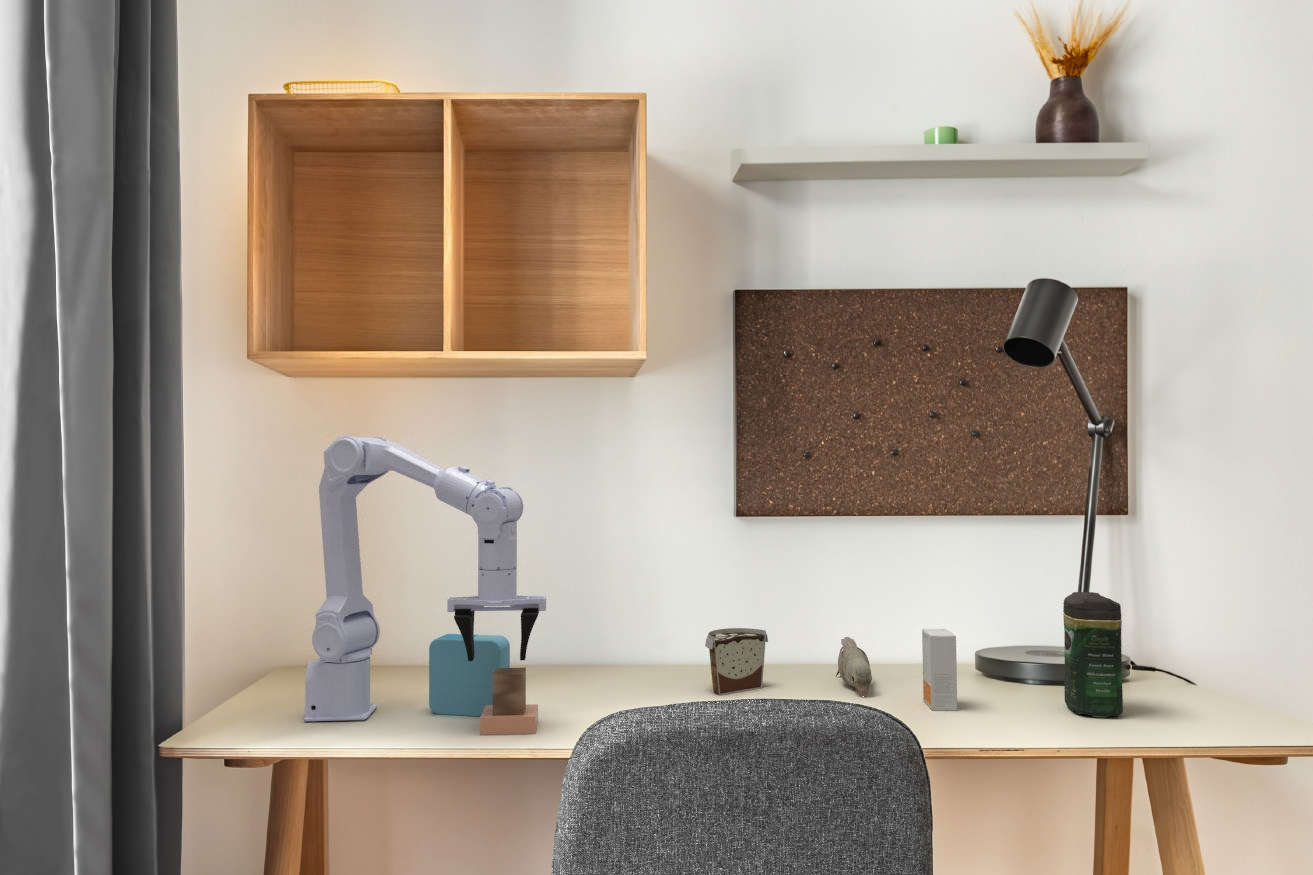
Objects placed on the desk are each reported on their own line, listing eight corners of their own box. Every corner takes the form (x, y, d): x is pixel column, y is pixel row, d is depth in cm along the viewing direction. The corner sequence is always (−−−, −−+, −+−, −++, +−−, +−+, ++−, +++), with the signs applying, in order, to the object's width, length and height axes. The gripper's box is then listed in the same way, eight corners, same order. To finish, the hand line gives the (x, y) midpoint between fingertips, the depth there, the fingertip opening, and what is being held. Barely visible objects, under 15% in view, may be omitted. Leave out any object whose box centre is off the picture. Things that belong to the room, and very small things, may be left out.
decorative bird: (848, 699, 156) (847, 654, 156) (832, 677, 172) (832, 636, 172) (880, 699, 156) (879, 653, 156) (861, 677, 172) (861, 636, 172)
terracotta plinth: (480, 734, 135) (480, 717, 136) (485, 721, 142) (485, 705, 142) (535, 733, 136) (535, 716, 136) (538, 720, 143) (538, 704, 143)
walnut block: (492, 715, 137) (492, 674, 137) (495, 707, 141) (495, 667, 141) (523, 714, 137) (523, 673, 137) (525, 706, 141) (525, 667, 142)
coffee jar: (1130, 720, 141) (1127, 597, 142) (1074, 717, 143) (1072, 596, 143) (1111, 704, 151) (1109, 589, 151) (1059, 701, 152) (1057, 588, 153)
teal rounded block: (510, 710, 149) (510, 635, 150) (500, 717, 145) (500, 640, 145) (440, 706, 152) (440, 633, 152) (428, 714, 147) (428, 638, 147)
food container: (747, 680, 169) (746, 625, 169) (768, 687, 164) (768, 630, 164) (691, 689, 162) (691, 631, 163) (711, 696, 157) (711, 637, 158)
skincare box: (922, 701, 154) (921, 628, 154) (948, 701, 153) (947, 628, 154) (931, 710, 147) (930, 634, 148) (958, 711, 147) (957, 635, 148)
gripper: (444, 571, 135) (443, 665, 135) (544, 570, 136) (544, 664, 136) (451, 566, 142) (451, 655, 142) (546, 565, 143) (546, 654, 143)
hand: (497, 659), depth 139 cm, fingers open, 7 cm apart
